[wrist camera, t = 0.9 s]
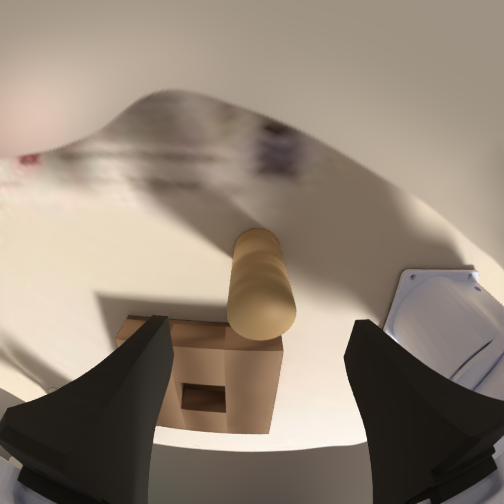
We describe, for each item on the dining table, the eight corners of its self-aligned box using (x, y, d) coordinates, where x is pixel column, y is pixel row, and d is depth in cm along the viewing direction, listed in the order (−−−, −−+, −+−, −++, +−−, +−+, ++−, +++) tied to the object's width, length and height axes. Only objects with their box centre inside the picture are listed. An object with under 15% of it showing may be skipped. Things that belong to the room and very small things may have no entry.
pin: (281, 229, 18) (300, 285, 11) (278, 271, 19) (291, 340, 12) (234, 227, 18) (226, 283, 11) (233, 270, 19) (226, 339, 12)
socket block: (279, 324, 21) (283, 351, 18) (267, 410, 25) (268, 434, 23) (128, 315, 20) (115, 338, 18) (154, 402, 25) (148, 424, 22)
